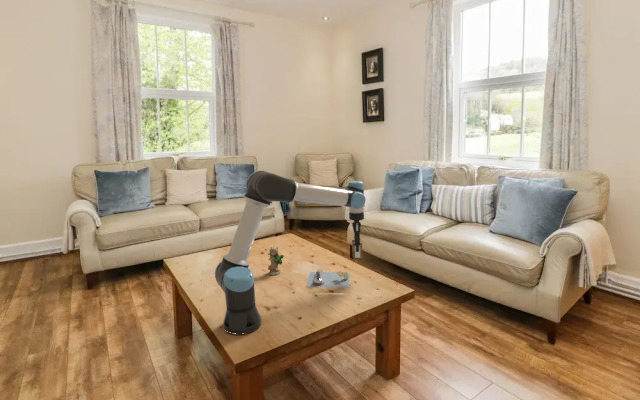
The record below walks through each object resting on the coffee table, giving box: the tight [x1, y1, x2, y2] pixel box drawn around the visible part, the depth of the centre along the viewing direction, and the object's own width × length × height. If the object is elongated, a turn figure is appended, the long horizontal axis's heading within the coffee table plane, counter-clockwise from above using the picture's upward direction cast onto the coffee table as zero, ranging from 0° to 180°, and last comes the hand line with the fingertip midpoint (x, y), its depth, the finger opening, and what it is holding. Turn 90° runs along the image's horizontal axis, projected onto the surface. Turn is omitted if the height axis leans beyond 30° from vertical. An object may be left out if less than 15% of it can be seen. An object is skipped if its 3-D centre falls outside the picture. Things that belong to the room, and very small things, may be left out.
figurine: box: [267, 246, 284, 276], centre depth 204 cm, size 9×8×15 cm
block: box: [351, 239, 363, 259], centre depth 191 cm, size 5×5×8 cm
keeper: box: [336, 270, 348, 280], centre depth 192 cm, size 5×5×4 cm
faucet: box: [314, 269, 324, 285], centre depth 194 cm, size 15×4×2 cm, turn 175°
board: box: [305, 271, 351, 288], centre depth 193 cm, size 19×22×7 cm
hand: (357, 255), depth 191 cm, fingers closed on block, 5 cm apart
